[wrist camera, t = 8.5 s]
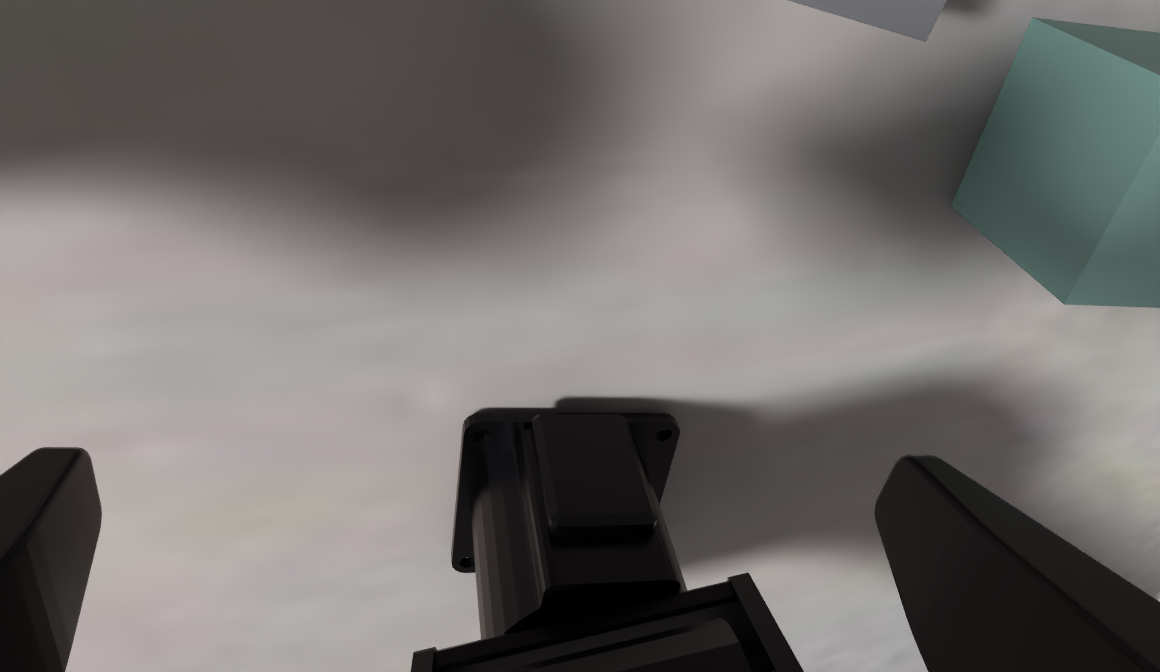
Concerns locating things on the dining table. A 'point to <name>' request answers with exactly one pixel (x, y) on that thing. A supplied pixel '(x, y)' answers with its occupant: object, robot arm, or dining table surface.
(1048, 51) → the teal cube
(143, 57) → the dining table surface
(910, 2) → the slate base block
